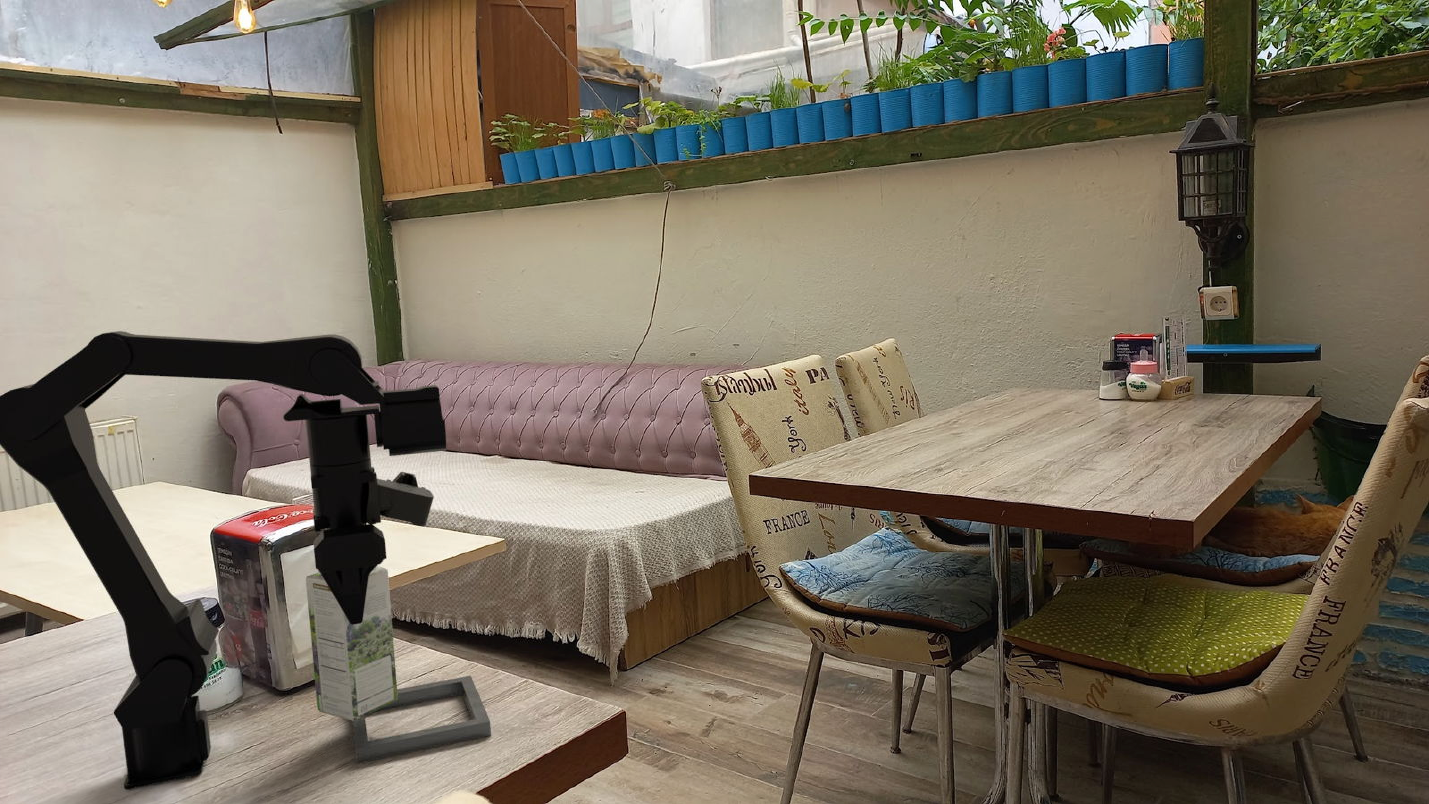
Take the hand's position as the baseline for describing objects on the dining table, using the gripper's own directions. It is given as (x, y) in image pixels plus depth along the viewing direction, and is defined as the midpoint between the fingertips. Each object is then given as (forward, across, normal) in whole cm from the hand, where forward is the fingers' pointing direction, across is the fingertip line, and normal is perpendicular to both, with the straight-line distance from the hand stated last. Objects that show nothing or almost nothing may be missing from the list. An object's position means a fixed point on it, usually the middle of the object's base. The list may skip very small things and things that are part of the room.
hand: (354, 611), depth 99 cm
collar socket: (+13, 0, -5) cm, 14 cm away
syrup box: (+10, 0, 0) cm, 10 cm away
